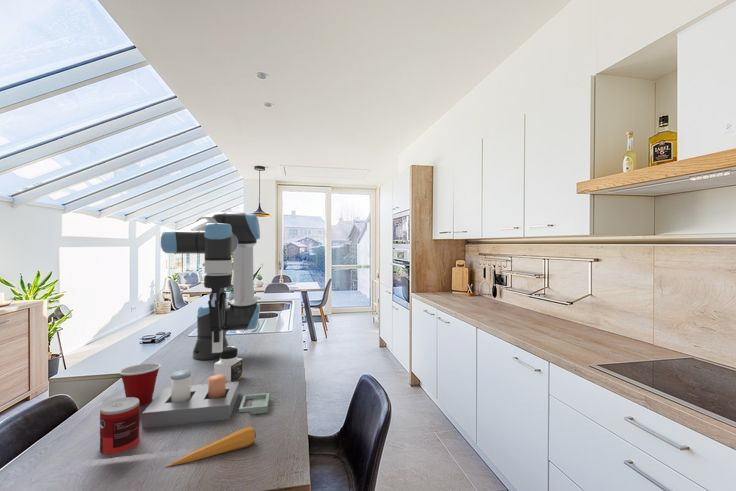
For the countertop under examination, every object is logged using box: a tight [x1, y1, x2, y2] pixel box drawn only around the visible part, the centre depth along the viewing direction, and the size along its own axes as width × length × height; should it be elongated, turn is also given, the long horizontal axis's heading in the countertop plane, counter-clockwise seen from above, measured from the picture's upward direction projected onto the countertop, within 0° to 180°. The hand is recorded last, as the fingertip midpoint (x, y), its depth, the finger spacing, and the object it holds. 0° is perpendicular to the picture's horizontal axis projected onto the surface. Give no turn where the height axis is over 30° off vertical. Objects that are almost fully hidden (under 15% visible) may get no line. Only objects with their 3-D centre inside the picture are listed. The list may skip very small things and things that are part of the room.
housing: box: [141, 381, 240, 429], centre depth 98 cm, size 16×22×5 cm
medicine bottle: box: [213, 345, 243, 383], centre depth 122 cm, size 7×7×12 cm
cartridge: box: [170, 369, 192, 403], centre depth 98 cm, size 5×5×11 cm
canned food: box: [99, 396, 141, 458], centre depth 81 cm, size 8×8×11 cm
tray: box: [238, 392, 270, 415], centre depth 102 cm, size 9×8×2 cm
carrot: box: [165, 426, 257, 468], centre depth 79 cm, size 20×4×4 cm, turn 120°
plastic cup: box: [118, 362, 161, 407], centre depth 102 cm, size 11×11×12 cm
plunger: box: [207, 374, 227, 399], centre depth 100 cm, size 5×5×6 cm
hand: (217, 351), depth 100 cm, fingers closed
